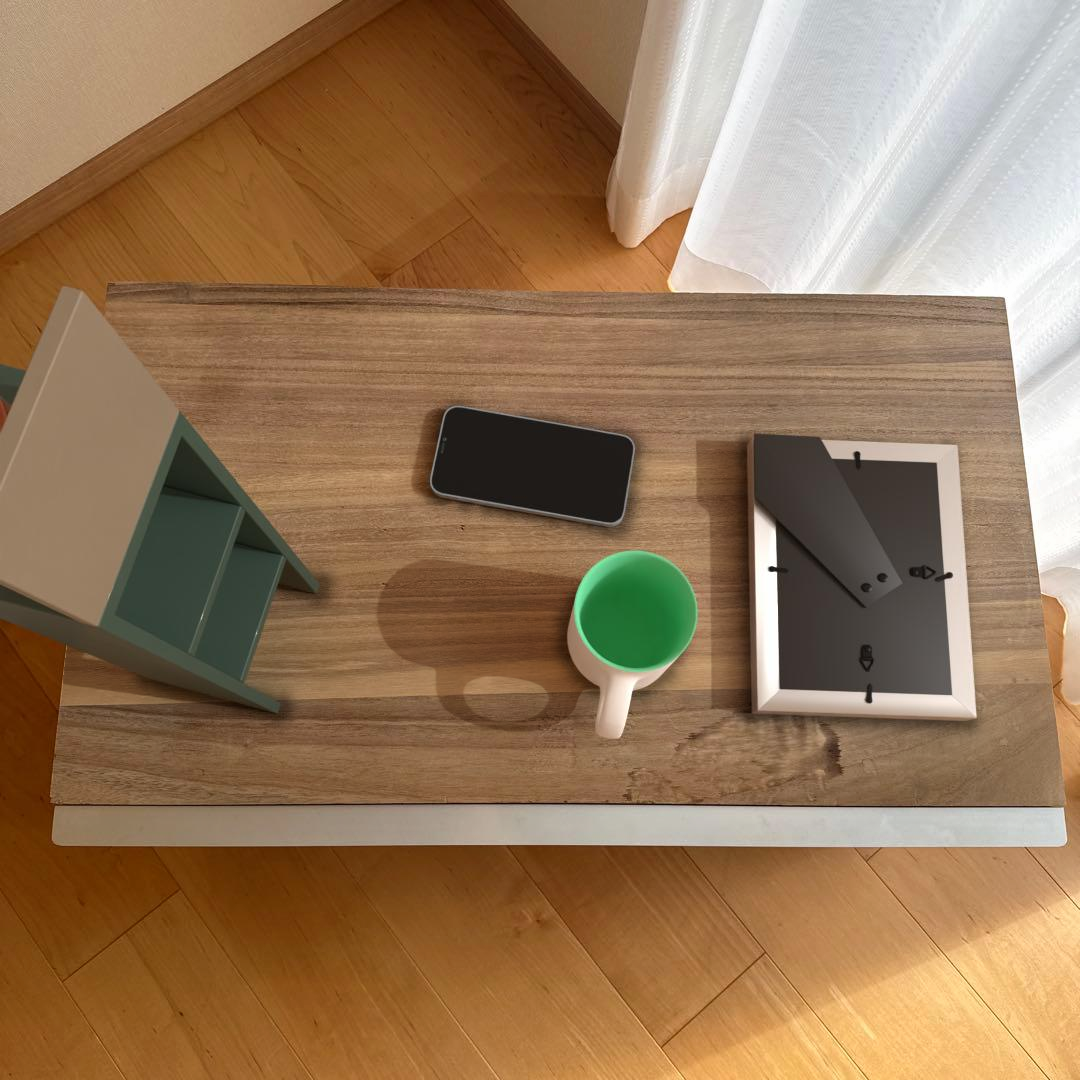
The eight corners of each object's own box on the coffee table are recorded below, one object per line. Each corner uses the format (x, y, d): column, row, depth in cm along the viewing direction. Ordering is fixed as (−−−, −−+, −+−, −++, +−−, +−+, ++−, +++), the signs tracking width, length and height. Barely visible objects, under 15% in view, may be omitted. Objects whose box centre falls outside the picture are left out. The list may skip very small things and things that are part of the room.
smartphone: (622, 527, 82) (427, 492, 82) (621, 530, 83) (427, 496, 83) (637, 436, 84) (446, 402, 84) (635, 440, 85) (446, 407, 85)
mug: (662, 753, 79) (683, 742, 69) (552, 737, 79) (557, 723, 69) (680, 592, 82) (703, 559, 72) (575, 577, 82) (582, 542, 72)
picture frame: (746, 446, 85) (751, 713, 80) (754, 433, 82) (759, 709, 77) (947, 453, 85) (965, 721, 80) (961, 441, 82) (981, 717, 77)
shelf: (147, 678, 79) (-324, 486, 35) (193, 550, 82) (-191, 219, 38) (277, 713, 79) (-31, 565, 35) (320, 584, 82) (83, 289, 37)
